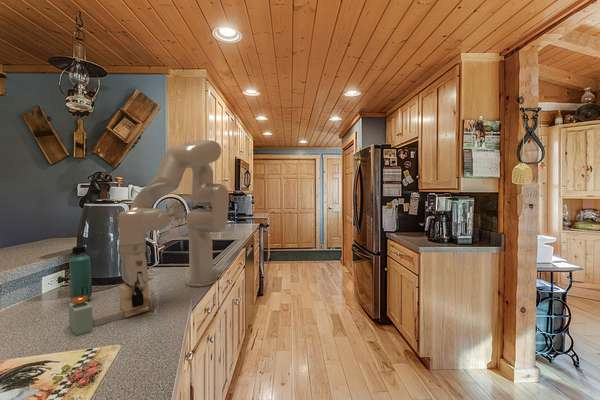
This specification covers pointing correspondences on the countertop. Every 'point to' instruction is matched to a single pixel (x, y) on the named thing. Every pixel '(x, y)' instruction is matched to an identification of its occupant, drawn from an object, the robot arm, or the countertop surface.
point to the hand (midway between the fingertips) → (134, 303)
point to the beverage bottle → (80, 273)
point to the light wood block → (126, 300)
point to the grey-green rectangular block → (80, 318)
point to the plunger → (79, 301)
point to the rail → (112, 316)
